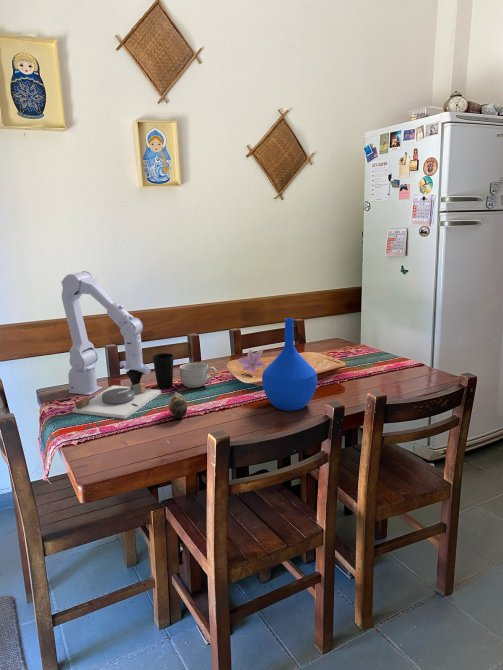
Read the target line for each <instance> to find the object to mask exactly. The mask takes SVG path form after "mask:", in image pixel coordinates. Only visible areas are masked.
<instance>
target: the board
mask: <svg viewBox="0 0 503 670" xmlns="http://www.w3.org/2000/svg"><path fill="white" fill-rule="evenodd" d="M117 388H129V389H130V386H121V385H111V386H110V387H108V388H106V389H104V390H103V391H102V392H99V393H97V394H95V397H94V398H93V399H91V400H89V404H87V405H86V406H84V407H82V408H81V409H77V408H76V406H74V407H73V408H72V413H74V412H75V413H74V414H82V415H83V414H84V415H92V416H99V417H106V418H109V417H110V418H115V419H116V418H117V419H124V420H125V419H127V418H129V417H130V416H131V415H133V414H134V413H135V412H137V411H138V410H140V409H141V408H143V407H145V405H147V404H148V403H150V402H151V401H153V400H154V399H155V398H156V397H159V396H160V395H161V394H162V389H153V388H145V392H143V393H139V394H135V398H134V399H133V400H131V401H129V402H126V403H122V404H106V403H104V402H103V401H102V394H103V393H104V392H106V391H108V390H111V389H117ZM149 401H150V402H149ZM146 403H147V404H146ZM132 413H133V414H132Z"/></svg>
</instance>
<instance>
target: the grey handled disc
mask: <svg viewBox="0 0 503 670" xmlns="http://www.w3.org/2000/svg"><path fill="white" fill-rule="evenodd" d="M129 387H130V389H129V388H117V389H111V390H108V391H106V392H104V393H103V394H102V401H103V402H104V403H106V404H122V403H126V402H129V401H131V400H133V399H134V398H135V394H139V393H143V392H145V389H146V385H145V383H144V382H140V383H138V384H135V385H132V384H131V385H130V386H129Z"/></svg>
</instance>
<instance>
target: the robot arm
mask: <svg viewBox="0 0 503 670" xmlns="http://www.w3.org/2000/svg"><path fill="white" fill-rule="evenodd" d="M60 283H61V286H62V289H61V291H62V292H61V300H62V305H63V308H64V312H65V316H66V321H67V325H68V329H69V334H70V338H71V342H72V346H71V347H70V349H69V351H68V353H69V365H70V369H69V371H68V374H67V375H68V376H67V377H68V386H69V391H68V393H69V394H77V395H86V396H87V395H88V396H91V395H92V394H94V393H96V392H99V391H100V390H101V389H103V386H99V385H98V382H97V381H98V380H97V372H96V362H98V360H99V354H98V351H97V349H96V348H95V346H94V344H93V343H92V342H91V341H89V338H88V334H87V329H86V325H85V321H84V315H83V313H82V308H81V304H80V298H81V296H82V295H83V294H84V295H90V296H91V297H92V298H93V299H94V300H96V302H98V303H99V304H100V305H101V306H102V307H103V308H105V310H106V315H107V316H108V317H109V318H110V319H111V320H112V321H113V322H114V323H115V324H116V325H117V326H118V328H119V331H120V334H121V336H122V337H123V341H124V351H125V360H123V361H122V360H121V361H119V367H120V368H124V370H126V374H125V375H127V376H128V378H129V380H130V382H131V385H135V384H138V383H141V379H142V377H143V374H144V375H149V374H151V367H149V366H147V365H145V364H144V361H143V349H142V348H143V346H142V335H141V334H142V331H143V330H144V324H143V322H142V321H141V320H140V318H138V317H134V316H133V315H132V314H130V313H129V312H128V311H127V310H126V309H125V306H124V304H120V303H118V302H114V301H113V299H111V298H110V296H109V295H108V294H107V293H106V292H105V290H104V289H103V288H102V287H101V286H100V285H99V283H98V282H97V278H96V277H94V276H93V275H92V273H91V272H90V271H87V270H84V271H80V272H75V273H69V274H67V275H65V277H64V278H63V279H62V280H61V282H60Z"/></svg>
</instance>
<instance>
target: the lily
mask: <svg viewBox="0 0 503 670" xmlns="http://www.w3.org/2000/svg"><path fill="white" fill-rule="evenodd" d="M263 352H264V349H260V350H258V351H256V352H253V351H252V349H249V350H248V352H247V356H244V357H241V358H238V359H237V362H238V364H240V365H241V366H242V367H243V369H242V371H243V370H248V371H250V372H254V373H256V374H257V371H258V370H257V368H258V369H259V368H263V367H265V366H266V364H265V363H264V362H263V361H261V360H260V359H261V357H262V355H263Z"/></svg>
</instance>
